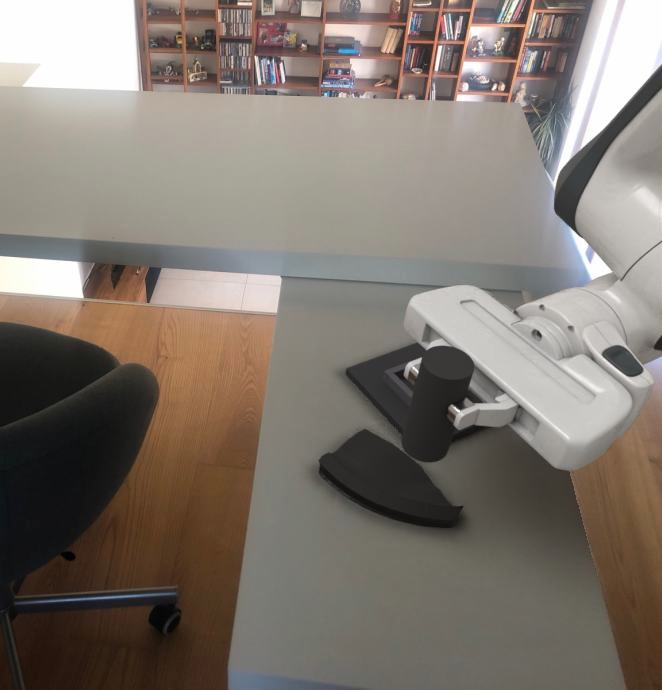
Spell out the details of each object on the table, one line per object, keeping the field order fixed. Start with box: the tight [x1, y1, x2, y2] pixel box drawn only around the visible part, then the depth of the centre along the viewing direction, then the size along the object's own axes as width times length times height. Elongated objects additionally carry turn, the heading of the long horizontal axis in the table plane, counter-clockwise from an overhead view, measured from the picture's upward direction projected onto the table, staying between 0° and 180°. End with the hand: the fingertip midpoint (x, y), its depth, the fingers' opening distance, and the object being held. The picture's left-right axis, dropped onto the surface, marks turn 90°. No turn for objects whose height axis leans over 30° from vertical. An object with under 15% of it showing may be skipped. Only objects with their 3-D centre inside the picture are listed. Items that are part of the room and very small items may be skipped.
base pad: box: [345, 341, 486, 442], centre depth 80 cm, size 14×12×2 cm
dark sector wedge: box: [318, 428, 465, 528], centre depth 70 cm, size 8×14×2 cm, turn 41°
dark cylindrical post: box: [400, 346, 475, 463], centre depth 58 cm, size 4×4×10 cm
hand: (430, 396), depth 57 cm, fingers closed on dark cylindrical post, 4 cm apart
